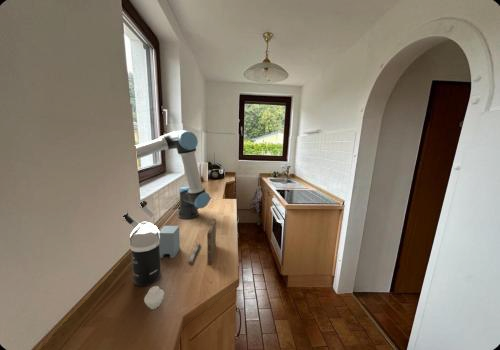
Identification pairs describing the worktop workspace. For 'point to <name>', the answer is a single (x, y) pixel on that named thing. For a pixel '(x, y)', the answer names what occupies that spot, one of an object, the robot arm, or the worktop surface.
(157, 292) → the white rock
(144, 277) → the black white bottle
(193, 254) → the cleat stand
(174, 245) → the mini cabinet
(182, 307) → the worktop surface
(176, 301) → the worktop surface
